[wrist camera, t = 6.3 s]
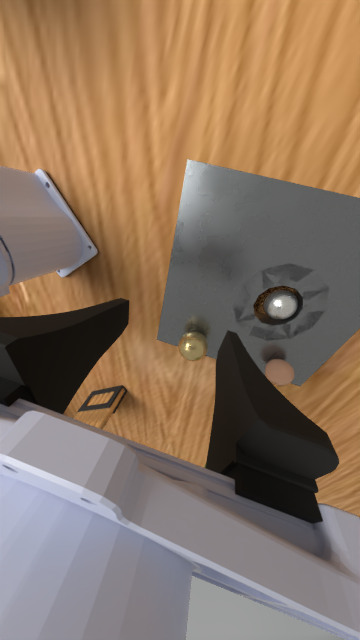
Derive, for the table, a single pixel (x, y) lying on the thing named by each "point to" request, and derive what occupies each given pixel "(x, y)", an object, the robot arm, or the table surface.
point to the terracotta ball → (279, 372)
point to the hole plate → (263, 266)
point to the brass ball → (193, 346)
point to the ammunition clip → (100, 406)
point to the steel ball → (280, 304)
